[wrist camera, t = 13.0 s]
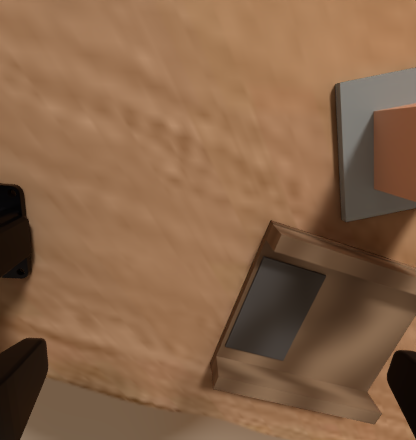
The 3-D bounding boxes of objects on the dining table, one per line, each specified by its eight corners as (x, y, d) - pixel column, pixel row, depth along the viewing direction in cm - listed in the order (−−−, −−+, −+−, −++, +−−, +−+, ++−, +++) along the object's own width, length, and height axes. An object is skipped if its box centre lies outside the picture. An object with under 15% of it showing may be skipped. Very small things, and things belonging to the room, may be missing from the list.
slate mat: (341, 219, 20) (345, 222, 20) (335, 84, 18) (340, 82, 17) (464, 194, 20) (472, 196, 20) (477, 55, 18) (486, 53, 17)
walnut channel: (210, 362, 23) (212, 390, 21) (270, 220, 20) (282, 232, 18) (356, 396, 26) (374, 425, 23) (433, 273, 22) (464, 291, 20)
